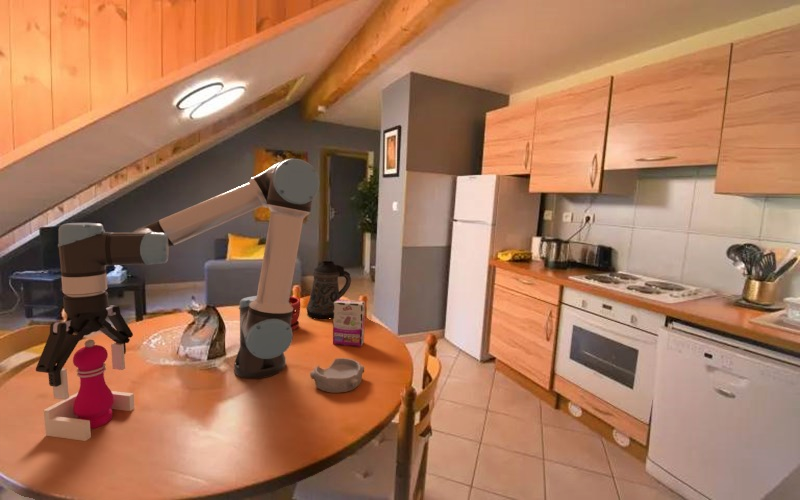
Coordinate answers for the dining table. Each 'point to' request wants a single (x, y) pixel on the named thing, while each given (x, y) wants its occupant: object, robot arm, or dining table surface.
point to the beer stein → (326, 289)
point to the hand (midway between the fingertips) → (92, 382)
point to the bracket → (66, 423)
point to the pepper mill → (92, 385)
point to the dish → (338, 376)
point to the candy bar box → (348, 322)
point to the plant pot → (295, 315)
